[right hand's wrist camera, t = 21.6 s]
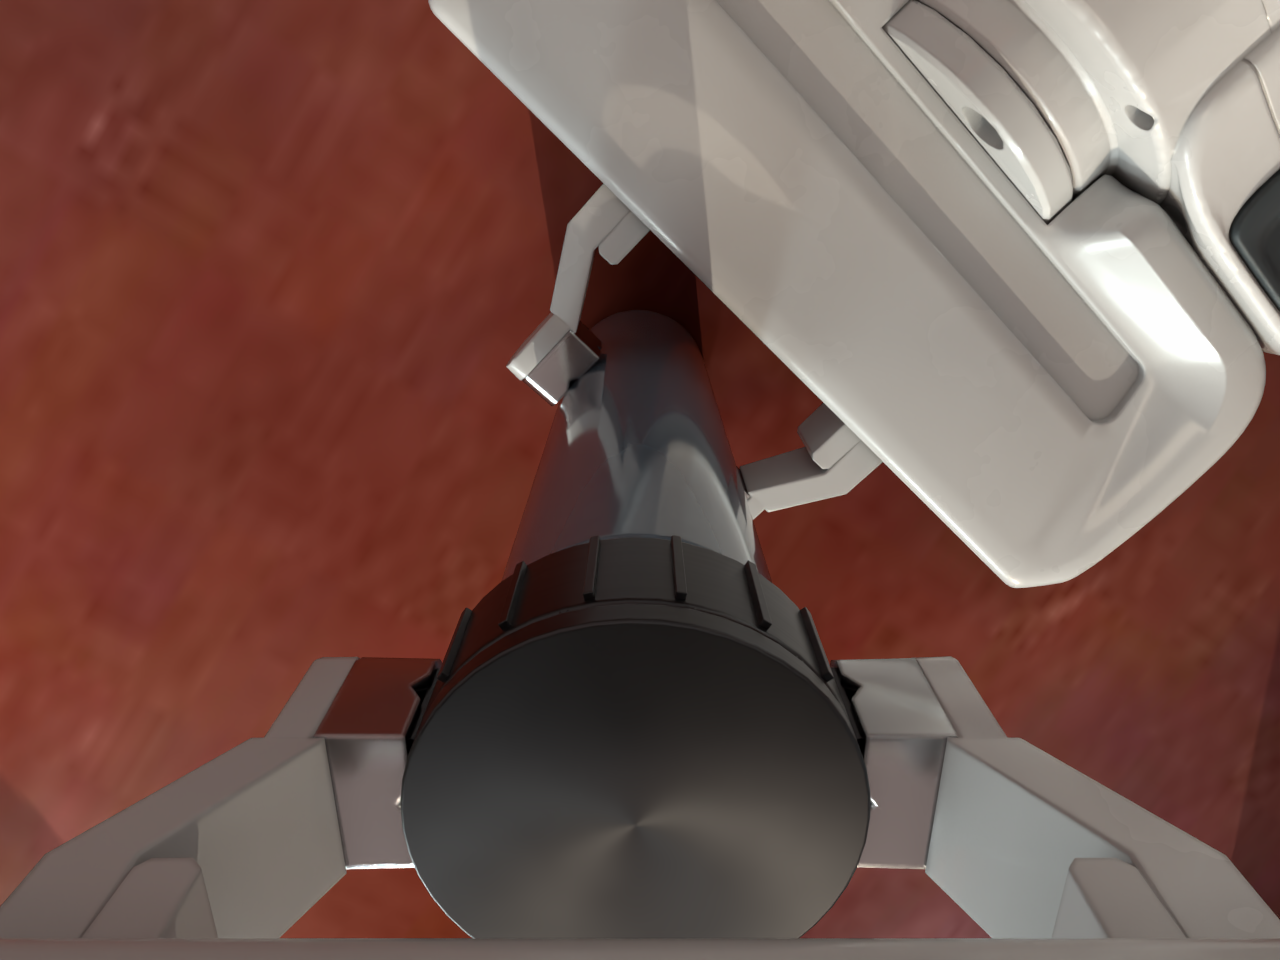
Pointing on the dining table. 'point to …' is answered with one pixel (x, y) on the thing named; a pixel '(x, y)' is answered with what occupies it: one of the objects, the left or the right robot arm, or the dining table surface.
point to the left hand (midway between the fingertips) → (614, 456)
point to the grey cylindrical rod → (639, 452)
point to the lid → (635, 755)
